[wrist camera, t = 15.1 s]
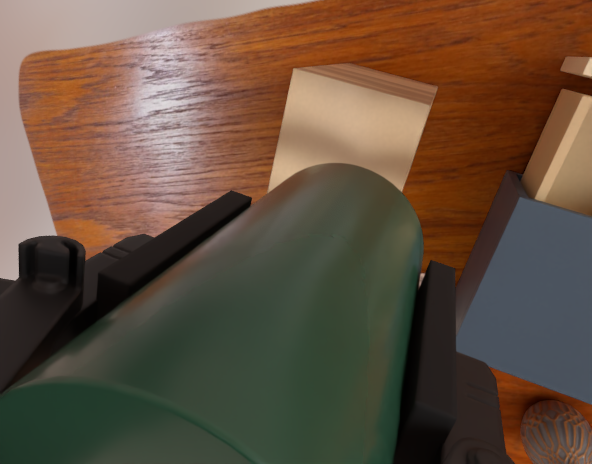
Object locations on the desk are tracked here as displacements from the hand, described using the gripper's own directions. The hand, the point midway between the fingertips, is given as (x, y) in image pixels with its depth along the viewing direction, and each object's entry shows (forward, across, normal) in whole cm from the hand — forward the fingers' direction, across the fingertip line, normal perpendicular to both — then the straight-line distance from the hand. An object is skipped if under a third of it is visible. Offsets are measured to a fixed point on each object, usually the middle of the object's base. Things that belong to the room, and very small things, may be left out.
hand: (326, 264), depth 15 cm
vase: (+35, +25, -26) cm, 51 cm away
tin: (+2, 0, 0) cm, 2 cm away
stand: (+35, -3, 0) cm, 35 cm away
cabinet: (+35, +17, -9) cm, 40 cm away
